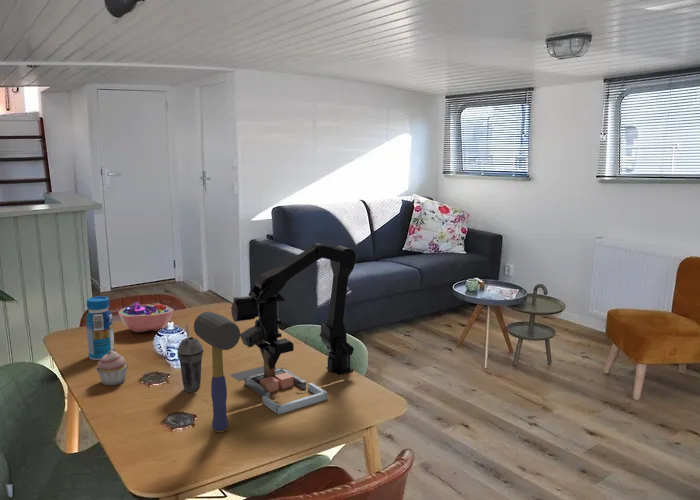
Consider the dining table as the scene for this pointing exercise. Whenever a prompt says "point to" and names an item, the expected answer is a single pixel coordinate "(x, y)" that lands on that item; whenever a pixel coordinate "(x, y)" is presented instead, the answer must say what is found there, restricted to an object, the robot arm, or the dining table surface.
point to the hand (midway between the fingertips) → (269, 367)
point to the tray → (299, 403)
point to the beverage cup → (190, 362)
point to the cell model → (145, 316)
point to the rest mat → (248, 373)
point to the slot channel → (263, 392)
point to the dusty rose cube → (270, 384)
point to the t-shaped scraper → (267, 369)
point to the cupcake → (112, 368)
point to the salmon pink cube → (285, 380)
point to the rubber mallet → (217, 359)
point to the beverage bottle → (99, 327)
